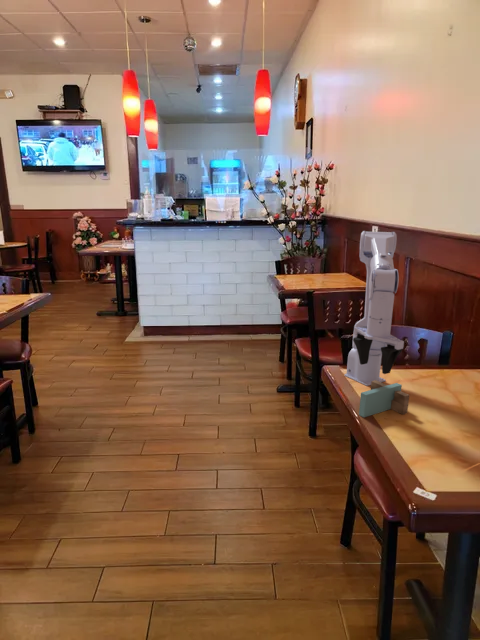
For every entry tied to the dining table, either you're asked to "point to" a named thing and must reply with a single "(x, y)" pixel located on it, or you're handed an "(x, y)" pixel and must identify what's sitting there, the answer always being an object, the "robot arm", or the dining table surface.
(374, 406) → the teal slotted plate
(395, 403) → the walnut slotted plate
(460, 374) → the dining table surface
